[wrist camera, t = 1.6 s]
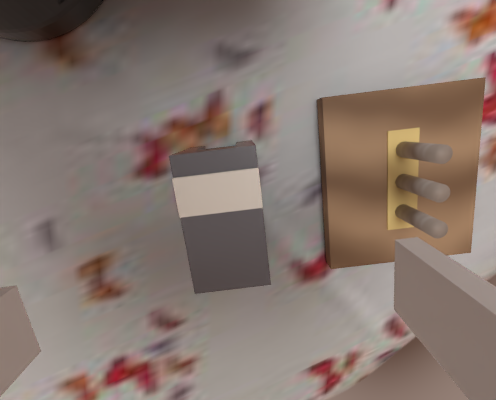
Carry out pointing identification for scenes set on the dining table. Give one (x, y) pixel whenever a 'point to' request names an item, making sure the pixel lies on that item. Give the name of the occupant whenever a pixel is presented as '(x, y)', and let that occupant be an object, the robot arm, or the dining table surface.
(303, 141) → the dining table surface
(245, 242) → the block
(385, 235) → the board
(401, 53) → the dining table surface
